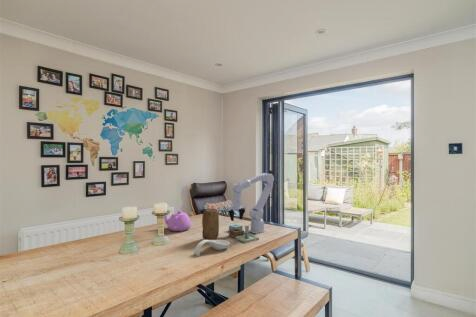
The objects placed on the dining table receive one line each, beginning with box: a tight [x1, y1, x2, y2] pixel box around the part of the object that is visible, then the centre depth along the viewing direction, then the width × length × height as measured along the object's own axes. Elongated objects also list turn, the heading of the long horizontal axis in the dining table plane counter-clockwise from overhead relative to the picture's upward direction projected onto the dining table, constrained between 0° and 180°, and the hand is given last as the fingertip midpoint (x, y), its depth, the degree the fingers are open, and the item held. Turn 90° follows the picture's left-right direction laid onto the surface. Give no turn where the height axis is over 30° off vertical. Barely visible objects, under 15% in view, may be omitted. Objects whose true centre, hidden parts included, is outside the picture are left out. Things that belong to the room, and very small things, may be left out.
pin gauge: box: [244, 225, 250, 239], centre depth 178 cm, size 2×2×8 cm
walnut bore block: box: [228, 228, 245, 239], centre depth 184 cm, size 7×7×4 cm
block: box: [201, 208, 220, 240], centre depth 174 cm, size 11×8×20 cm
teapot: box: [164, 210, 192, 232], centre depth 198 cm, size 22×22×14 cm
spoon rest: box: [193, 239, 231, 257], centre depth 156 cm, size 24×12×7 cm, turn 136°
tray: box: [235, 233, 260, 244], centre depth 178 cm, size 12×9×2 cm
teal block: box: [228, 223, 243, 231], centre depth 196 cm, size 7×7×4 cm
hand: (236, 219), depth 189 cm, fingers open, 7 cm apart
